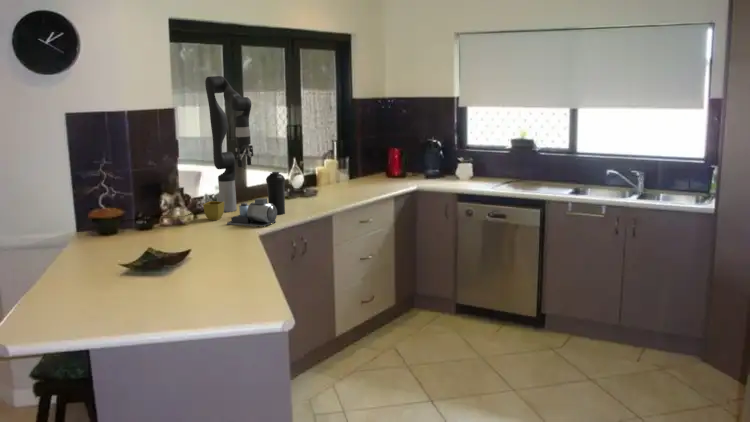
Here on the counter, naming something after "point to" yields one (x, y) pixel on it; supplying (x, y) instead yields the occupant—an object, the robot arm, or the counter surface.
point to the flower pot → (213, 210)
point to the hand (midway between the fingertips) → (244, 166)
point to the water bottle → (276, 191)
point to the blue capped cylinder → (243, 209)
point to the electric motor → (257, 214)
